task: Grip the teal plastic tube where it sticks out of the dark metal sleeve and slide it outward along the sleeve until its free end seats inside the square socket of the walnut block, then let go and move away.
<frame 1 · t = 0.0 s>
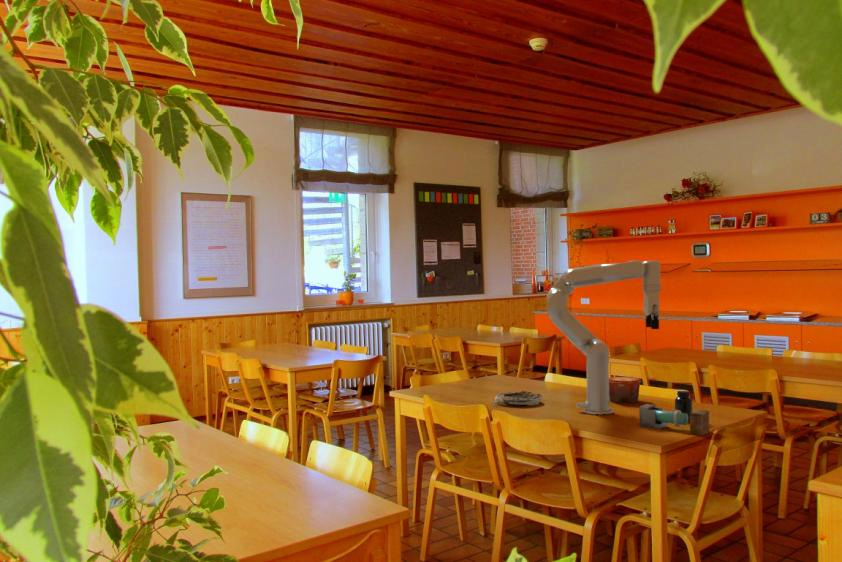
hand: (652, 328, 312), 37 cm above the table, tool pointing down, fingers open, 9 cm apart
tube: (665, 416, 281), point 4 cm above the table, slide at 0.0 cm
sleeve: (653, 426, 284), on the table
supplement bottle: (683, 420, 295), on the table
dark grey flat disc: (520, 404, 339), on the table
food container: (623, 401, 338), on the table
socket block: (699, 432, 272), on the table
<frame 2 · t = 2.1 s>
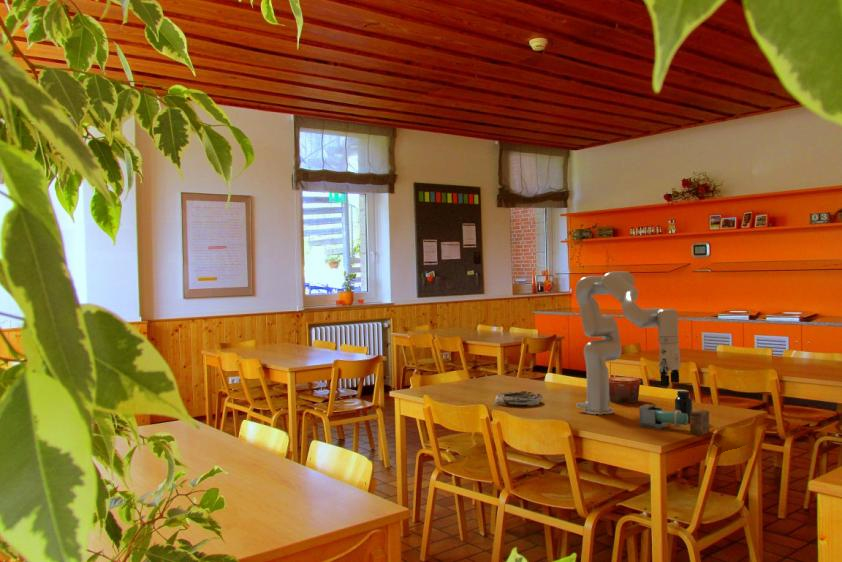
hand: (670, 384, 279), 18 cm above the table, tool pointing down, fingers open, 9 cm apart
nothing on the table moved.
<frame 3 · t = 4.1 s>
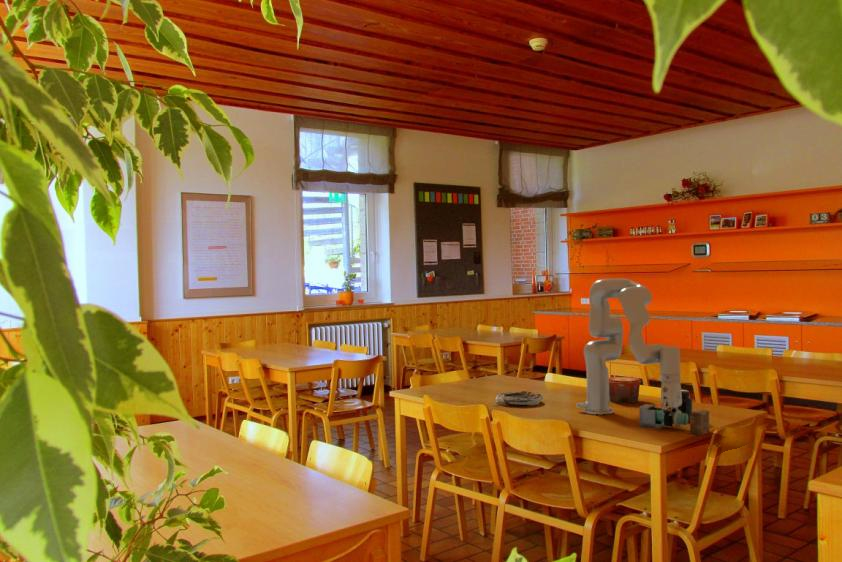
hand: (671, 424, 280), 2 cm above the table, tool pointing down, fingers closed on tube, 4 cm apart
tube: (665, 416, 281), point 4 cm above the table, slide at 0.0 cm, touching gripper
everything else where it was.
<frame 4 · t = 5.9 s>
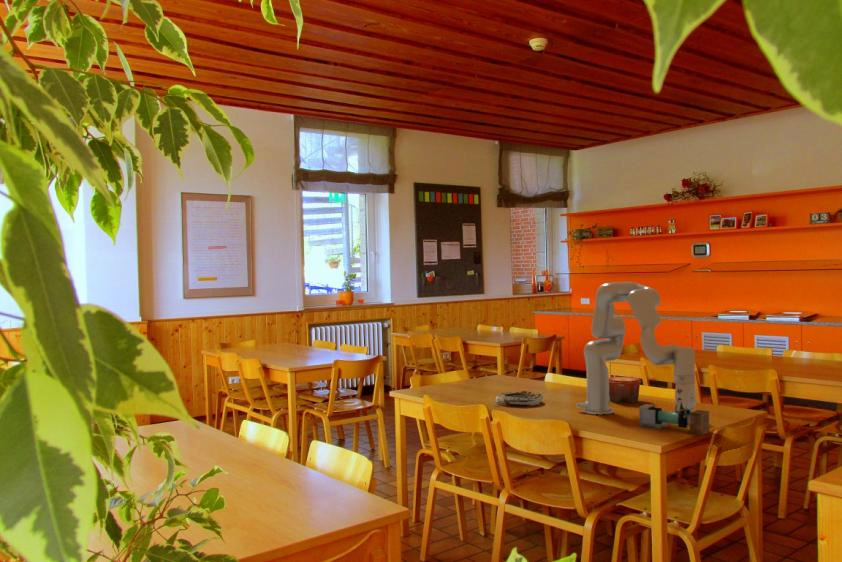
hand: (685, 425, 276), 2 cm above the table, tool pointing down, fingers closed on tube, 4 cm apart
tube: (679, 418, 277), point 5 cm above the table, slide at 5.6 cm, touching gripper
everything else where it was.
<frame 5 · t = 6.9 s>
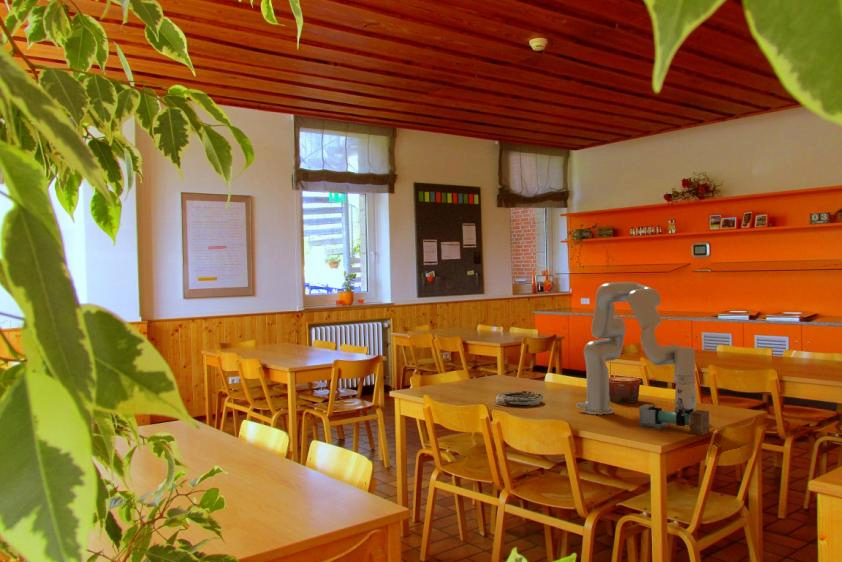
hand: (685, 423, 276), 3 cm above the table, tool pointing down, fingers open, 9 cm apart
tube: (680, 418, 277), point 5 cm above the table, slide at 5.7 cm
everything else where it was.
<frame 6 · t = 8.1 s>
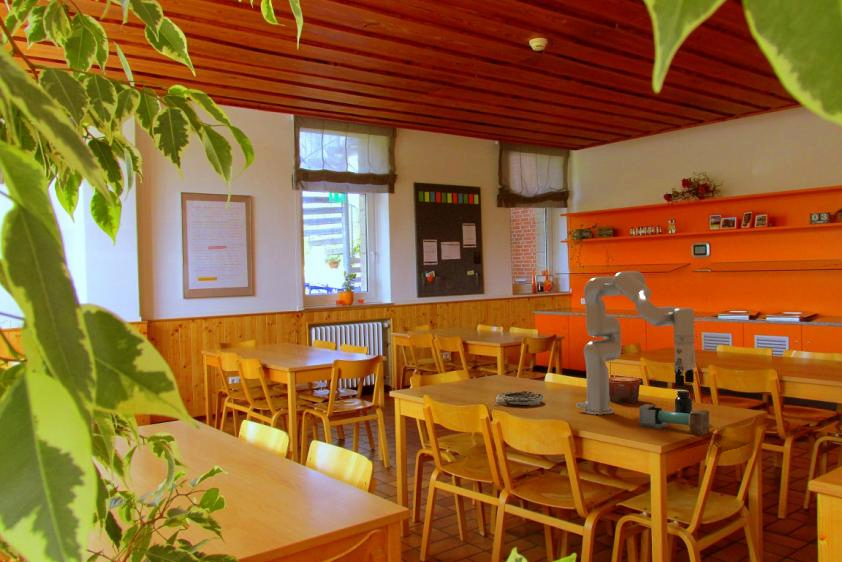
hand: (684, 384, 276), 18 cm above the table, tool pointing down, fingers open, 9 cm apart
nothing on the table moved.
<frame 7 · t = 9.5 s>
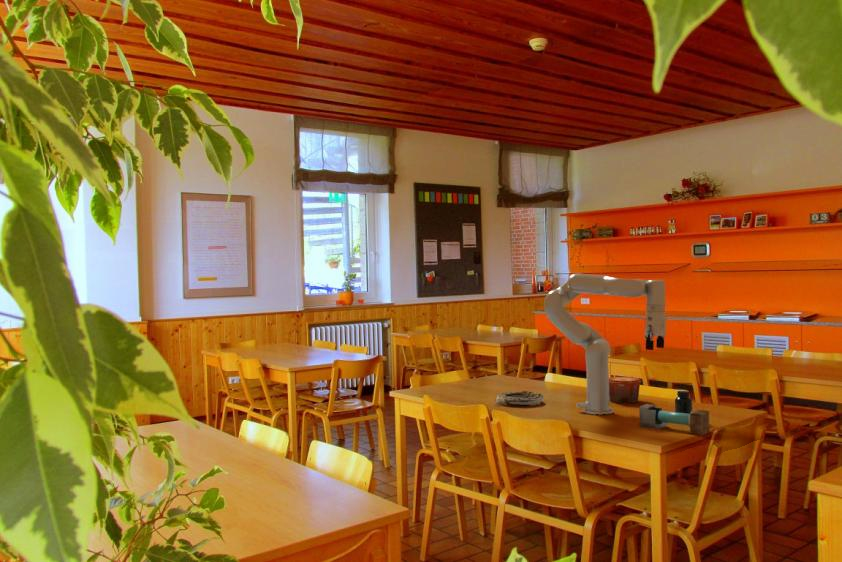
hand: (654, 348, 305), 28 cm above the table, tool pointing down, fingers open, 9 cm apart
nothing on the table moved.
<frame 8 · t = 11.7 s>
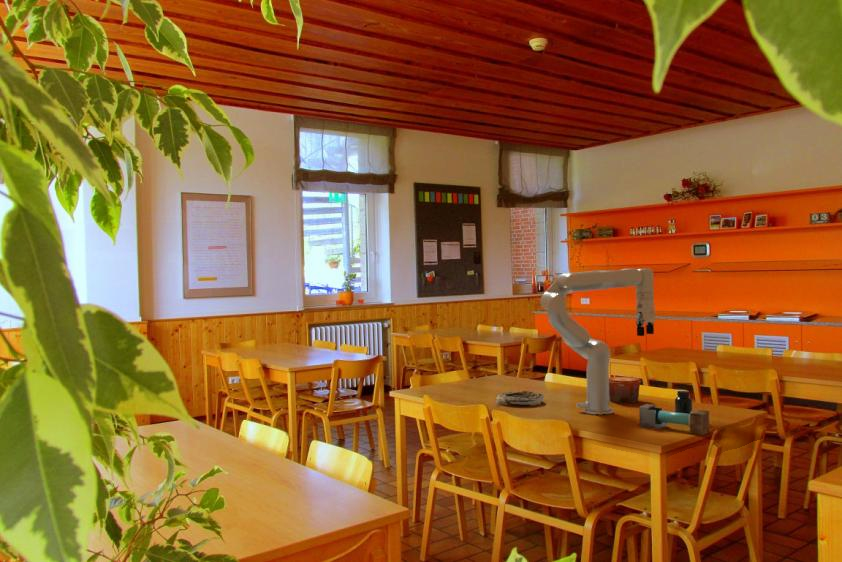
hand: (645, 334, 317), 33 cm above the table, tool pointing down, fingers open, 9 cm apart
nothing on the table moved.
at the end: tube slide at 5.7 cm; the gripper is holding nothing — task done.
